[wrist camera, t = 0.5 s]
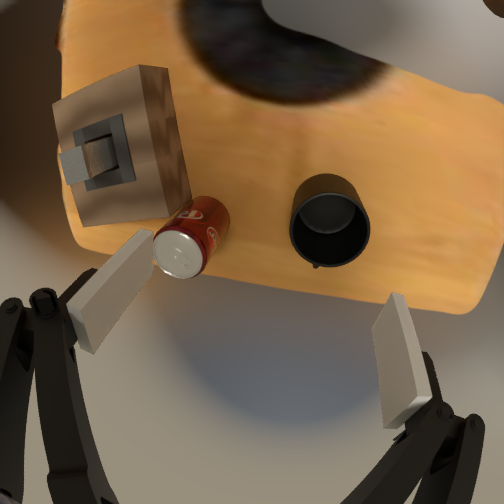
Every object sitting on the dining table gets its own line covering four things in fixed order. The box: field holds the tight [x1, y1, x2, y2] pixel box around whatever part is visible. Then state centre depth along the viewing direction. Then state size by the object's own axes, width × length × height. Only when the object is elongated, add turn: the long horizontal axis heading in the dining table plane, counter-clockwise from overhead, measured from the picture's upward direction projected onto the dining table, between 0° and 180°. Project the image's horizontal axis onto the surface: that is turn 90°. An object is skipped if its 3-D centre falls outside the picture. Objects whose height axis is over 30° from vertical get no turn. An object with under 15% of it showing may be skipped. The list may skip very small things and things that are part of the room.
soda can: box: [153, 196, 229, 279], centre depth 40 cm, size 7×7×12 cm
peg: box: [59, 136, 119, 185], centre depth 32 cm, size 4×4×8 cm
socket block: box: [52, 65, 192, 227], centre depth 37 cm, size 20×16×8 cm
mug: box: [289, 174, 370, 269], centre depth 37 cm, size 9×12×9 cm
